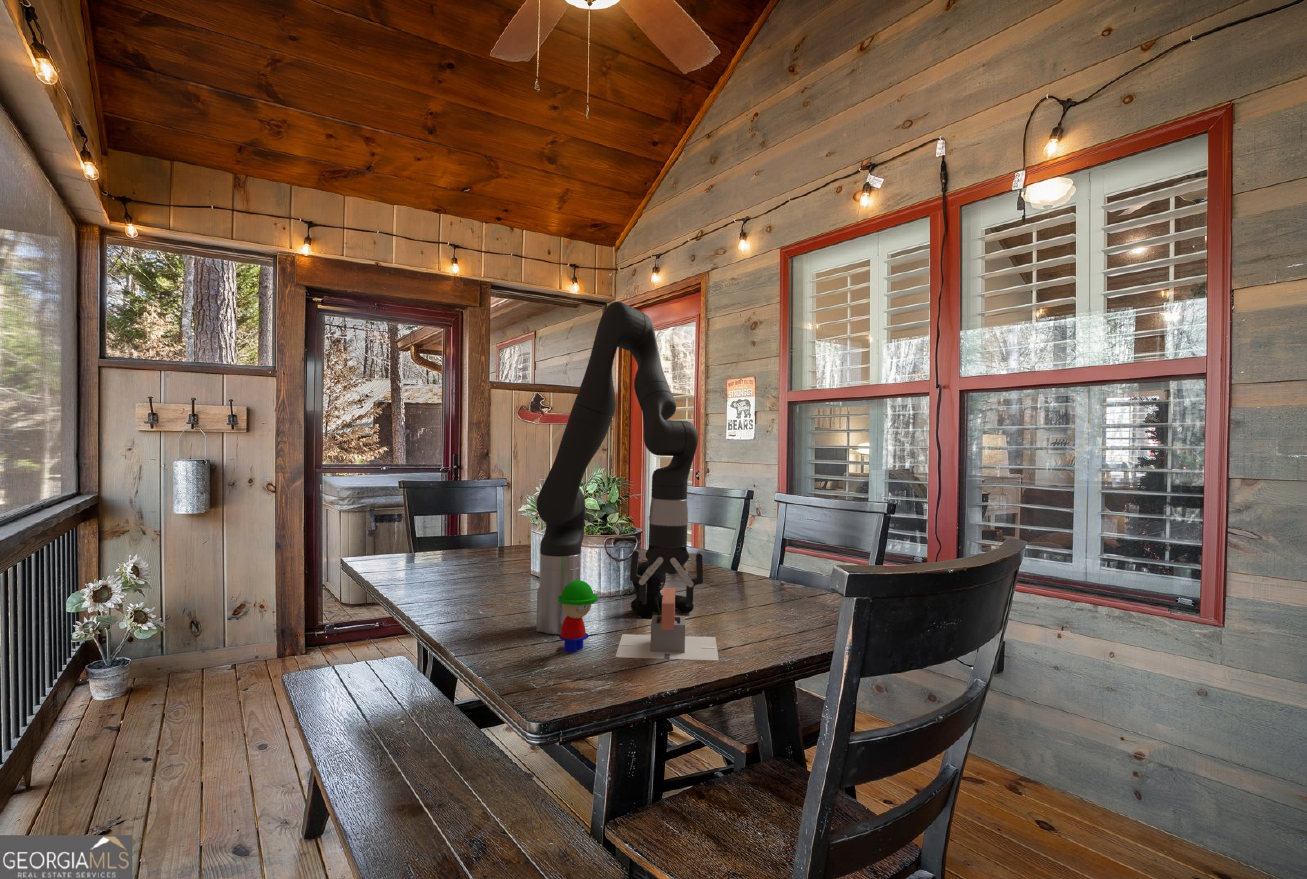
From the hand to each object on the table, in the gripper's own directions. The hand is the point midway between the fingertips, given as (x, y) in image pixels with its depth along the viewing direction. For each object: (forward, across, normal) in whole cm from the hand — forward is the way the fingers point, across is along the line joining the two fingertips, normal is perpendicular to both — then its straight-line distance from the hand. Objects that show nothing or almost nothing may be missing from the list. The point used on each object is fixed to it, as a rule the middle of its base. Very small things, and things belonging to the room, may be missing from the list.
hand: (665, 604), depth 129 cm
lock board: (+11, 0, -5) cm, 12 cm away
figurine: (+12, +2, -36) cm, 37 cm away
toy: (+12, +17, -1) cm, 21 cm away
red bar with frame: (+10, -1, -5) cm, 11 cm away
